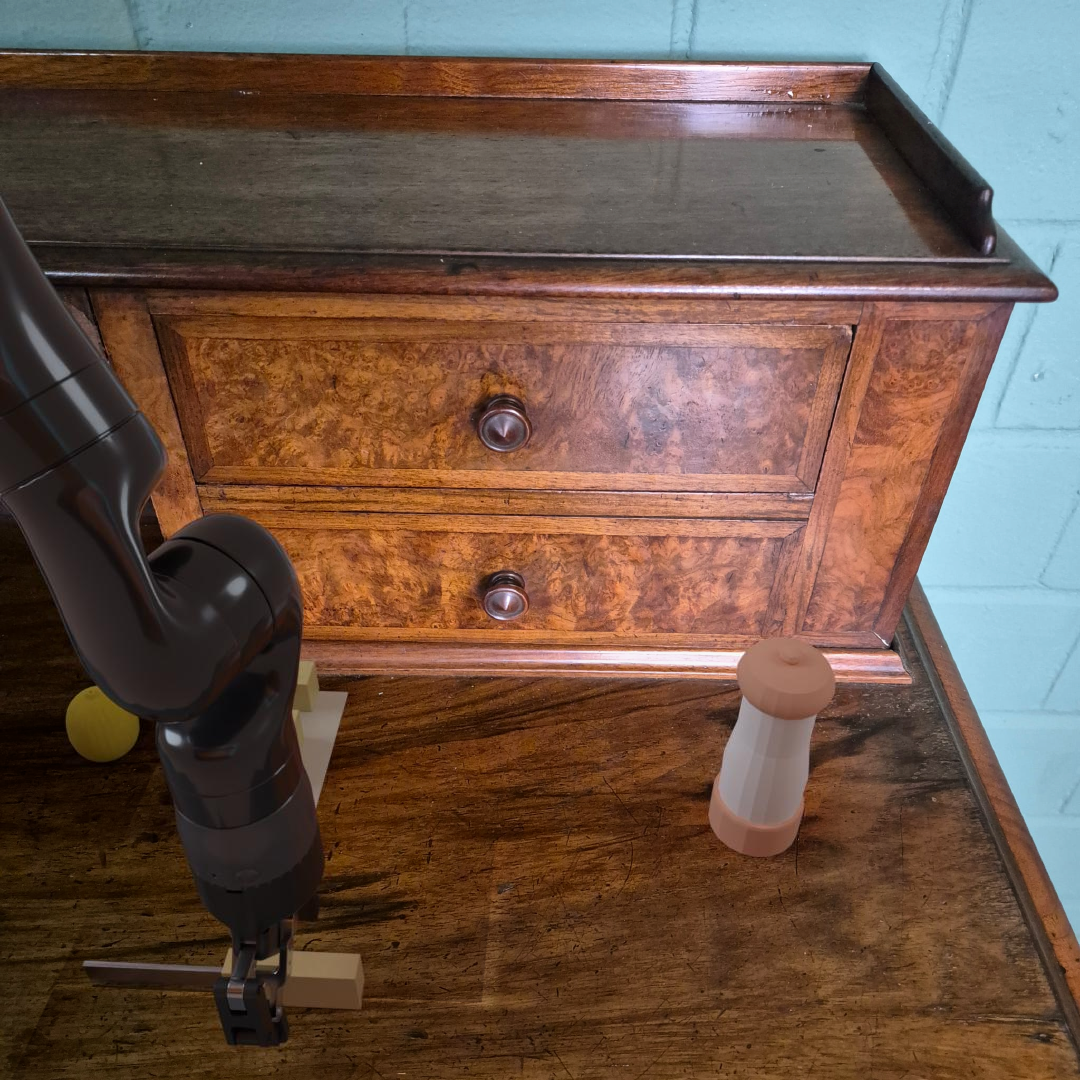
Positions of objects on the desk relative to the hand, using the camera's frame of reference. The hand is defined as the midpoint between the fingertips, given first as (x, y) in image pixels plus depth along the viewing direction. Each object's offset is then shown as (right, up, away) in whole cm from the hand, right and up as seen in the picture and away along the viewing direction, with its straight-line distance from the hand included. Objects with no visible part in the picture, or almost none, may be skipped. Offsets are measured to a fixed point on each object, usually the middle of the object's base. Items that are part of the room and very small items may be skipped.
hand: (289, 974), depth 65 cm
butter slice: (-6, +15, +23) cm, 28 cm away
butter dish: (-6, +11, +19) cm, 23 cm away
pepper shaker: (+35, +6, +14) cm, 38 cm away
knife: (-5, -2, +1) cm, 5 cm away
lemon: (-20, +11, +18) cm, 29 cm away
